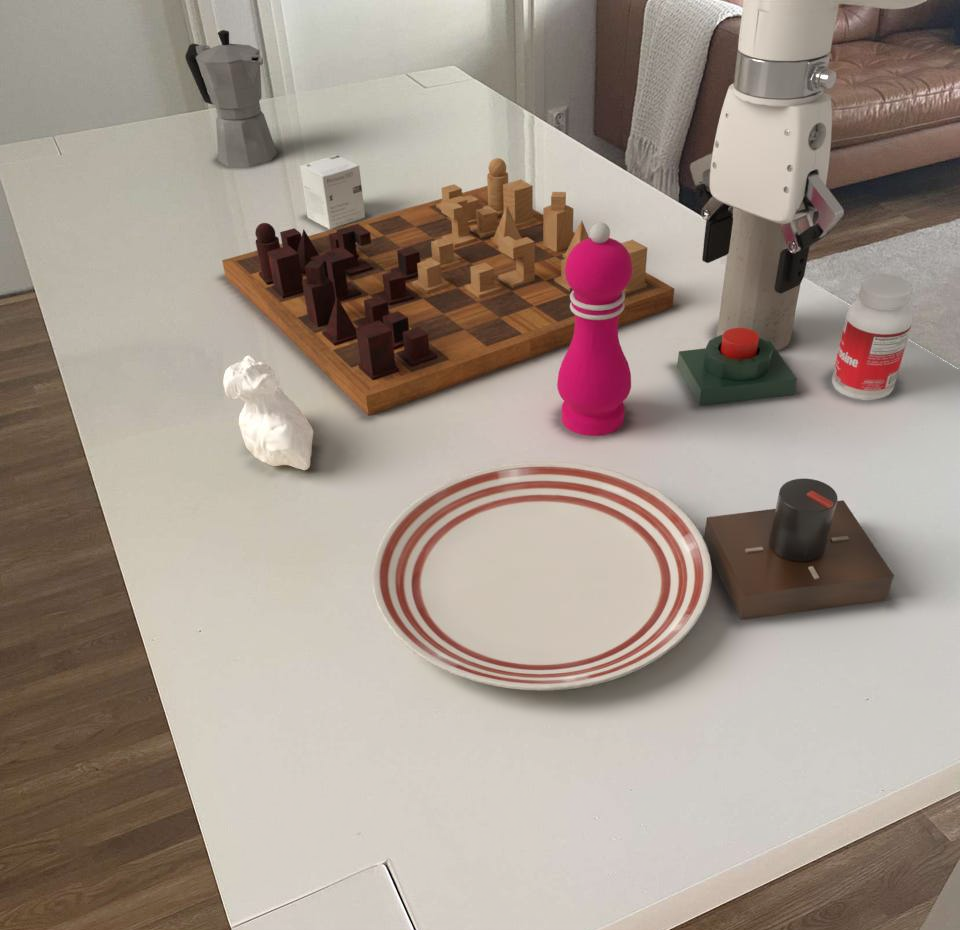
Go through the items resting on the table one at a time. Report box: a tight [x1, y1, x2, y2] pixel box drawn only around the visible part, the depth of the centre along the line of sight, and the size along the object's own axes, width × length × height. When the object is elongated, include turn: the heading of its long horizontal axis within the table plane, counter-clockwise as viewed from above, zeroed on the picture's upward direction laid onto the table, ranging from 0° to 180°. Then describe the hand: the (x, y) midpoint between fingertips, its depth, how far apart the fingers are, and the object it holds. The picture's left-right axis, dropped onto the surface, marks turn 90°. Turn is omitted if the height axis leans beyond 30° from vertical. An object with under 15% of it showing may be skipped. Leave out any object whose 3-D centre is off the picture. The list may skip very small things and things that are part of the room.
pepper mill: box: [556, 221, 632, 437], centre depth 95 cm, size 7×7×20 cm
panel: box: [703, 499, 895, 621], centre depth 83 cm, size 12×10×3 cm
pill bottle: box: [831, 273, 914, 401], centre depth 100 cm, size 6×6×11 cm
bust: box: [222, 354, 314, 471], centre depth 97 cm, size 12×8×11 cm
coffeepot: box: [185, 29, 278, 168], centre depth 154 cm, size 15×9×18 cm, turn 57°
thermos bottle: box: [716, 207, 815, 352], centre depth 102 cm, size 8×8×28 cm
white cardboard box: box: [299, 154, 366, 230], centre depth 139 cm, size 6×6×7 cm
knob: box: [769, 478, 839, 562], centre depth 80 cm, size 4×4×5 cm
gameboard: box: [221, 157, 675, 416], centre depth 120 cm, size 40×40×9 cm
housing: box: [676, 335, 798, 407], centre depth 104 cm, size 10×8×4 cm
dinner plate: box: [372, 461, 713, 691], centre depth 83 cm, size 27×27×3 cm
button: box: [721, 328, 759, 360], centre depth 102 cm, size 4×4×2 cm
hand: (750, 272), depth 97 cm, fingers open, 8 cm apart
